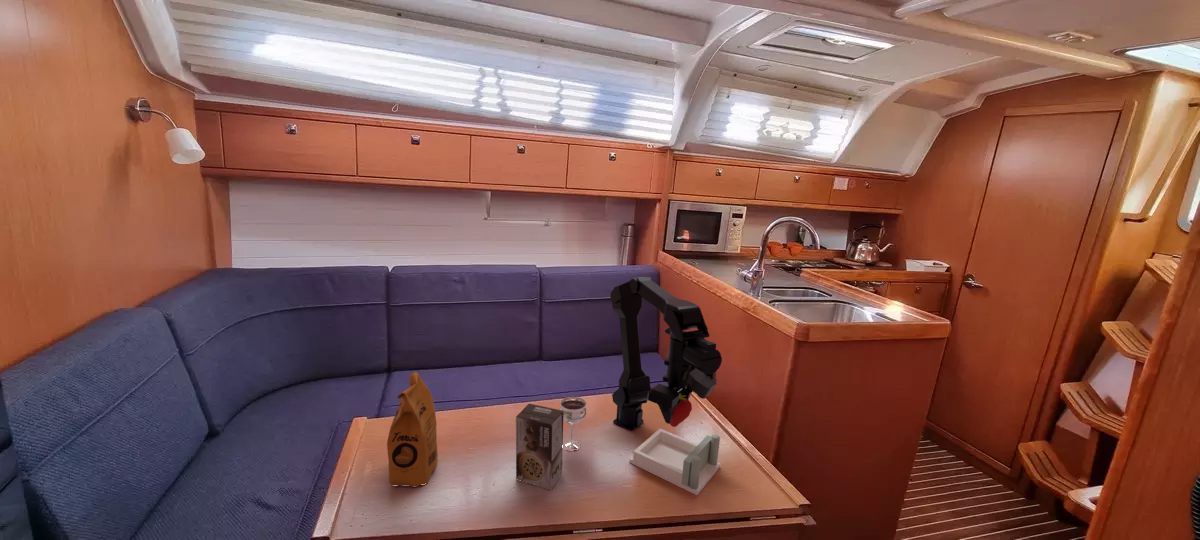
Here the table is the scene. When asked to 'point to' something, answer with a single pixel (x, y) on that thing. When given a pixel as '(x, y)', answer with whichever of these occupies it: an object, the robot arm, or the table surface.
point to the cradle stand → (679, 459)
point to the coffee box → (539, 445)
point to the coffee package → (413, 436)
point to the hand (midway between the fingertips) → (674, 417)
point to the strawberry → (681, 411)
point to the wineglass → (573, 415)
